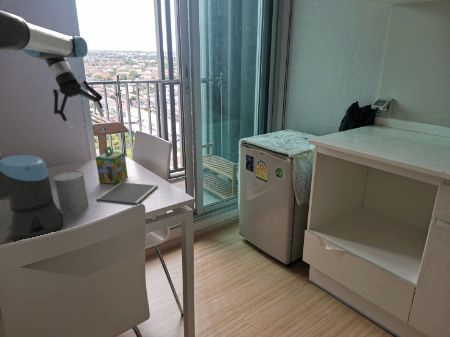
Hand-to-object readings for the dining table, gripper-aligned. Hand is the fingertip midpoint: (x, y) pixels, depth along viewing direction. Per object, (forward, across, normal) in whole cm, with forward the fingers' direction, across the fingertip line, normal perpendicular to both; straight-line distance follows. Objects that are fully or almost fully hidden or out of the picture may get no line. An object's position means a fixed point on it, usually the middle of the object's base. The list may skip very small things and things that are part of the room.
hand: (87, 121), depth 137 cm
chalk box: (+27, +1, -3) cm, 27 cm away
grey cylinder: (+30, +21, +14) cm, 39 cm away
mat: (+34, +2, +14) cm, 37 cm away
